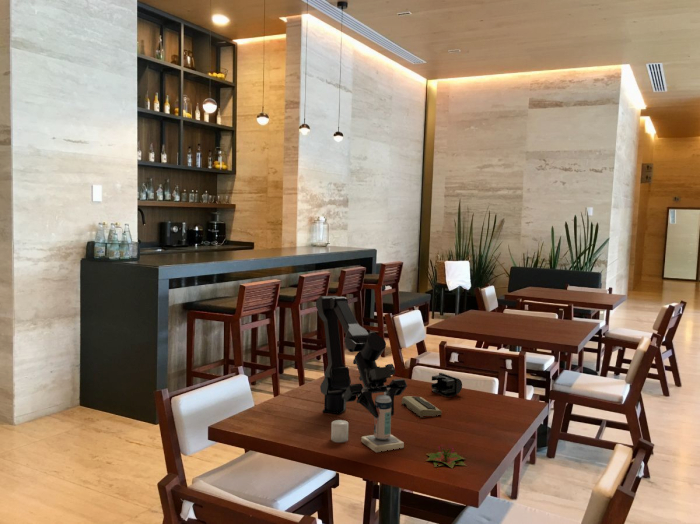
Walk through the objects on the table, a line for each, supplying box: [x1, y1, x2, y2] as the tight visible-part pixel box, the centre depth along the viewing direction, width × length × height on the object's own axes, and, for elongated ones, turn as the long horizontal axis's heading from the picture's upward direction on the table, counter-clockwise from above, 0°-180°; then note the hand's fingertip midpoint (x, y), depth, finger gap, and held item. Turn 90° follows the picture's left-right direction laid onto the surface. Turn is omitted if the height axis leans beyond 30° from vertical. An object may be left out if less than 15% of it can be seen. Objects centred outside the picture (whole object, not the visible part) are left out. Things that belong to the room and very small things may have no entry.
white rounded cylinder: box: [330, 419, 349, 443], centre depth 179 cm, size 5×5×5 cm
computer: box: [401, 395, 442, 418], centre depth 209 cm, size 16×8×3 cm, turn 18°
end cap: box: [430, 372, 463, 398], centre depth 230 cm, size 10×7×7 cm
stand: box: [360, 434, 405, 453], centre depth 176 cm, size 9×9×2 cm
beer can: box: [373, 394, 392, 440], centre depth 175 cm, size 5×5×12 cm
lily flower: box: [425, 444, 468, 470], centre depth 165 cm, size 12×12×5 cm
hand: (385, 416), depth 174 cm, fingers closed on beer can, 5 cm apart
